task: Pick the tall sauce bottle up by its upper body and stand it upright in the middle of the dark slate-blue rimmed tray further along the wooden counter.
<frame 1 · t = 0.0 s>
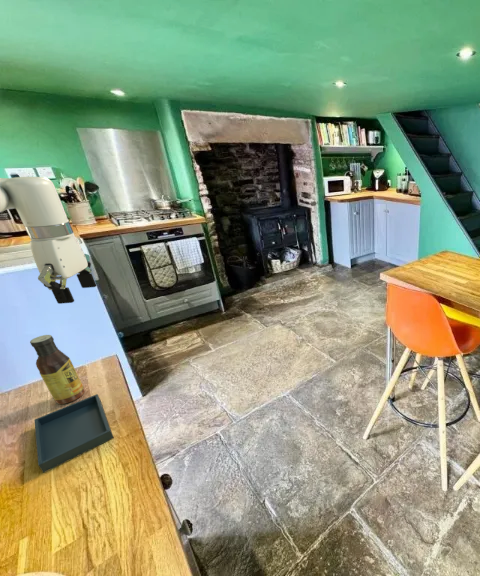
hand: (78, 294, 80), 30 cm above the worktop, tool pointing down, fingers open, 9 cm apart
tray: (75, 432, 76), on the worktop
sauce bottle: (71, 397, 87), on the worktop
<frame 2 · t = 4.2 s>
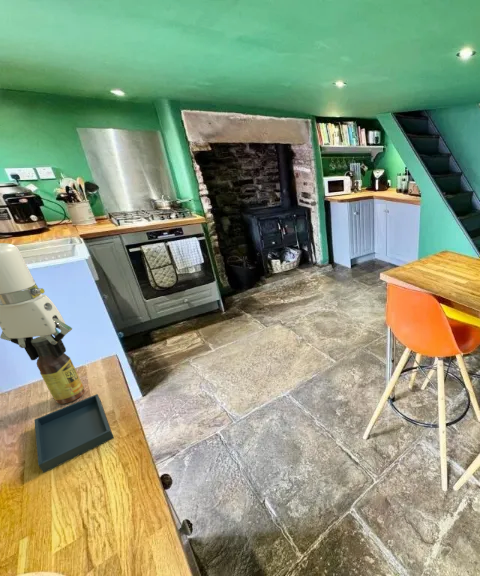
hand: (49, 355, 81), 15 cm above the worktop, tool pointing down, fingers closed on sauce bottle, 4 cm apart
sauce bottle: (71, 397, 87), on the worktop, touching gripper
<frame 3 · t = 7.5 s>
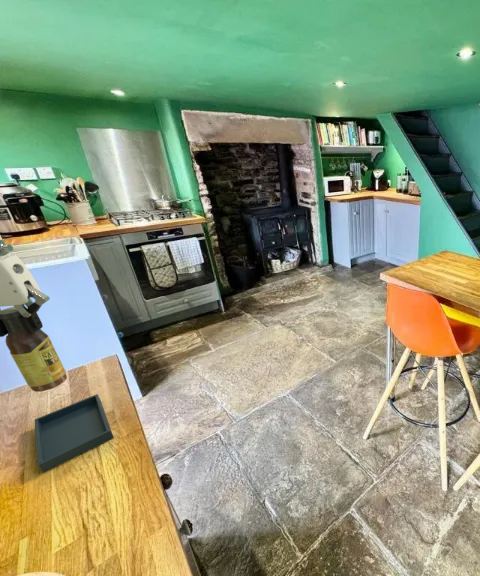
hand: (21, 331, 66), 29 cm above the worktop, tool pointing down, fingers closed on sauce bottle, 4 cm apart
sauce bottle: (51, 384, 72), point 14 cm above the worktop, touching gripper
when the fingers open (15 cm above the worktop, at t = 11.1 s): sauce bottle stays where it is, resting on tray.
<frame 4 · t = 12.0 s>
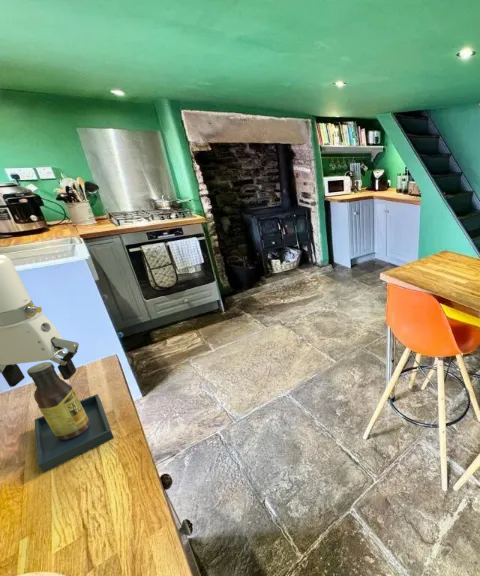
hand: (44, 379, 69), 17 cm above the worktop, tool pointing down, fingers open, 9 cm apart
sauce bottle: (75, 431, 76), resting on tray
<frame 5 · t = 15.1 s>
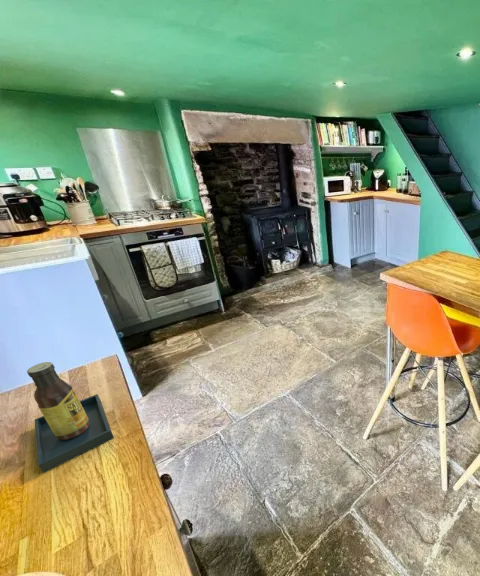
nothing on the worktop moved.
at the end: sauce bottle inside the target area in the tray (0.0 cm from its centre), point 0.3 cm above the tray's base; sauce bottle tilted 0°; the gripper is holding nothing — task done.
